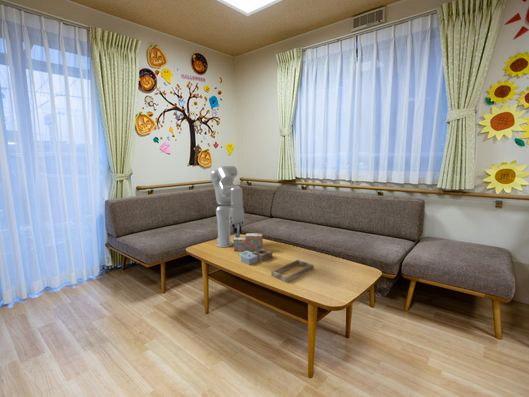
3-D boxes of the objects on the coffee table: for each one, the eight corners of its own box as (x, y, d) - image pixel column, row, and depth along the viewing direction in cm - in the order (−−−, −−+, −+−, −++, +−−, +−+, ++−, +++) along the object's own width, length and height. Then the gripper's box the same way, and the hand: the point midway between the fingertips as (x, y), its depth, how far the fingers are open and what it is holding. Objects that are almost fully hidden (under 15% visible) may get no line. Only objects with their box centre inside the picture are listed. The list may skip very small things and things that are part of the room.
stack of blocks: (233, 251, 207) (233, 235, 205) (235, 248, 213) (234, 233, 211) (262, 251, 206) (261, 235, 204) (262, 248, 212) (262, 233, 210)
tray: (238, 256, 197) (238, 253, 197) (246, 253, 203) (246, 250, 202) (245, 259, 192) (245, 256, 191) (254, 256, 197) (254, 253, 197)
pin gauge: (234, 237, 187) (234, 222, 185) (237, 236, 189) (237, 221, 187) (237, 238, 185) (236, 223, 183) (240, 237, 187) (240, 222, 185)
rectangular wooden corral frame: (271, 275, 165) (271, 271, 165) (297, 263, 183) (297, 259, 182) (287, 282, 157) (287, 278, 156) (313, 269, 174) (313, 264, 174)
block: (241, 261, 187) (241, 255, 187) (249, 258, 193) (249, 252, 192) (249, 264, 182) (248, 259, 181) (257, 261, 187) (257, 255, 187)
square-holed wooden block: (252, 257, 194) (251, 252, 194) (262, 253, 201) (262, 248, 201) (262, 261, 187) (262, 255, 187) (272, 257, 194) (272, 251, 194)
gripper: (242, 203, 191) (243, 228, 195) (223, 207, 180) (224, 234, 183) (249, 204, 186) (250, 231, 190) (230, 208, 175) (231, 236, 178)
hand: (237, 232), depth 187 cm, fingers closed on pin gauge, 3 cm apart
